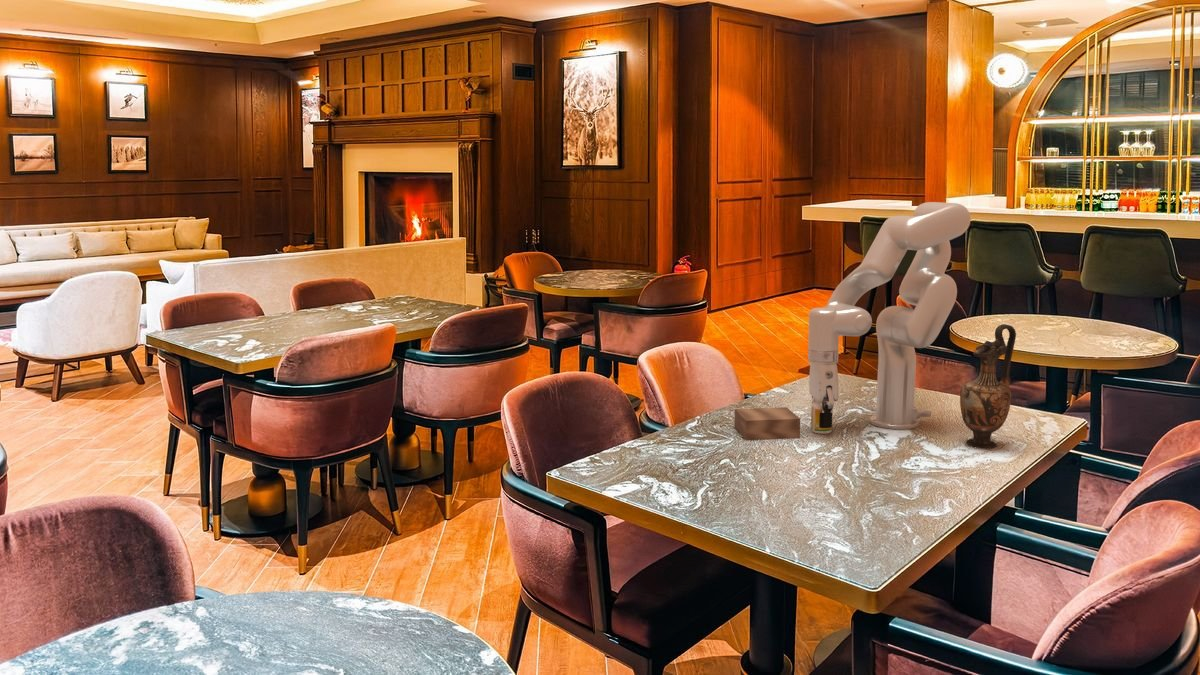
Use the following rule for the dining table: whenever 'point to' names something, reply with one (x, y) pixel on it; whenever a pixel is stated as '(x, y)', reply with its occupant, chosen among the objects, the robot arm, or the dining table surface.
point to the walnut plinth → (767, 423)
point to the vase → (988, 391)
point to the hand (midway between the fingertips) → (821, 423)
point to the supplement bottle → (817, 418)
